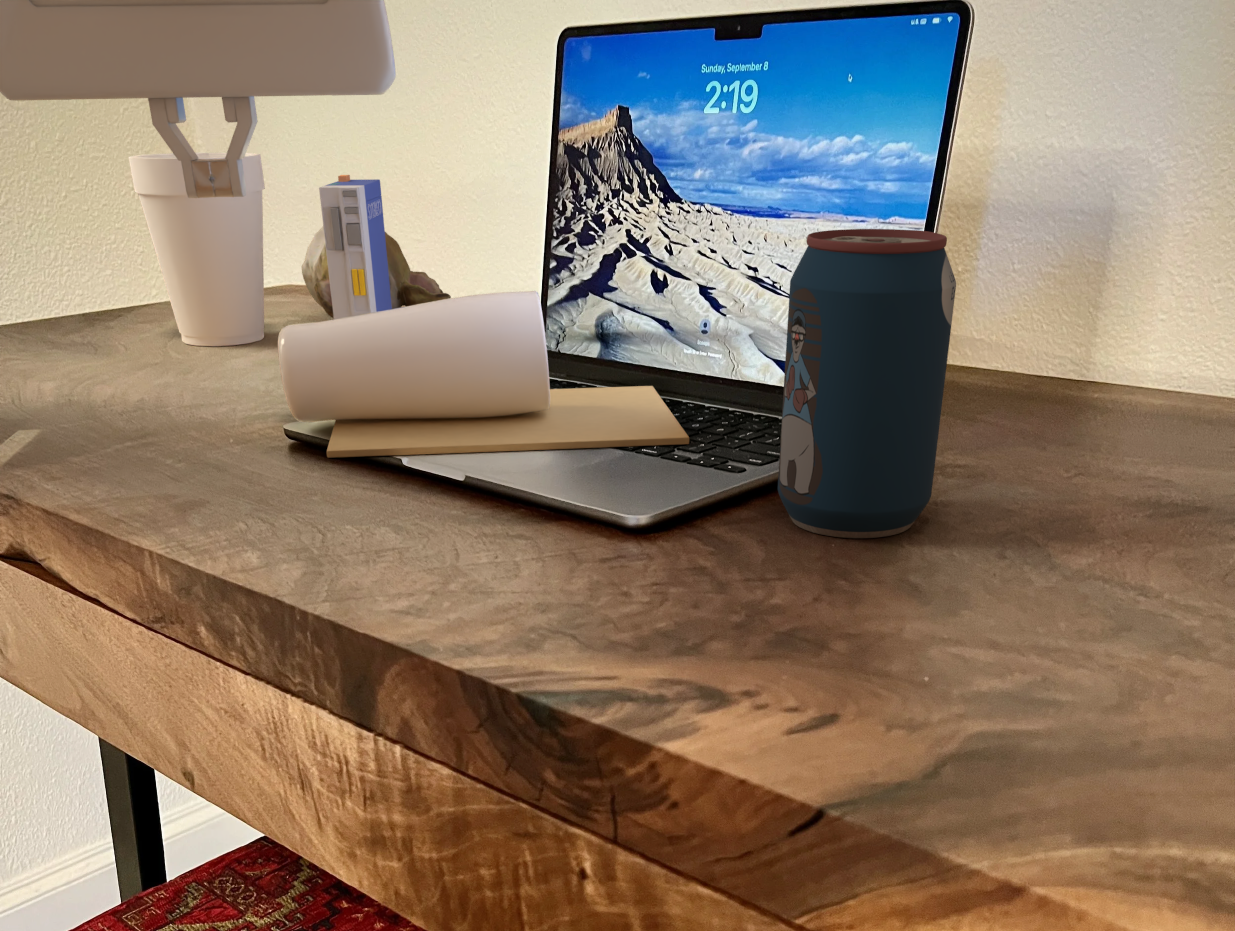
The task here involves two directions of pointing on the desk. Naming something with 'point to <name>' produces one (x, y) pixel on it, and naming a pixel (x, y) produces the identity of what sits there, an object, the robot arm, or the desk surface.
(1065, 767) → the desk surface
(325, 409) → the white tumbler
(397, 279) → the ceramic sculpture
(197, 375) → the desk surface
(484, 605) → the desk surface
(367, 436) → the cork mat
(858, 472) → the soda can
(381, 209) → the walkman
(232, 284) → the foam cup
